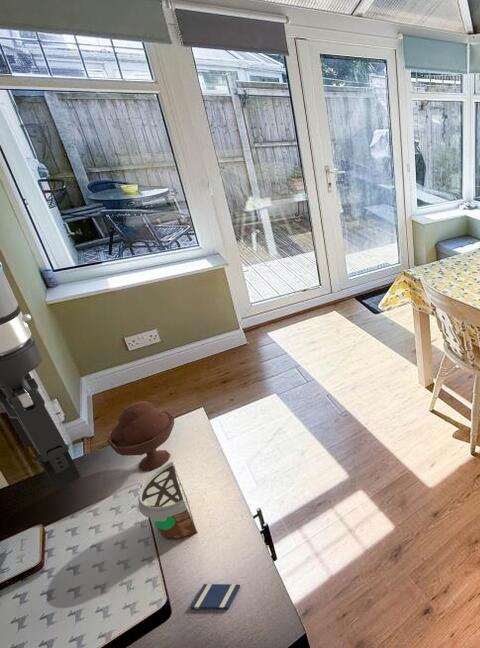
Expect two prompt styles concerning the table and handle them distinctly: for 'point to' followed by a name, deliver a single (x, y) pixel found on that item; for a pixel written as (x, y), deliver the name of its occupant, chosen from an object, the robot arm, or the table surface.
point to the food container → (167, 504)
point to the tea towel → (215, 596)
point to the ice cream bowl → (142, 434)
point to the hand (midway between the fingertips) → (52, 461)
